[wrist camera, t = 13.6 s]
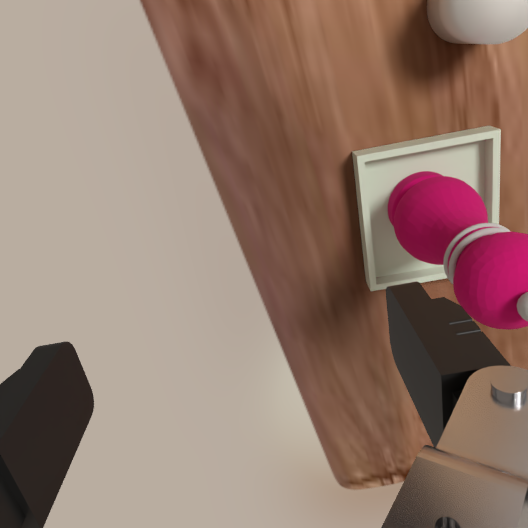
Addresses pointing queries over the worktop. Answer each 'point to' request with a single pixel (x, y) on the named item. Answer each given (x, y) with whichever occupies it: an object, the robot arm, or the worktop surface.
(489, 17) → the grey rounded block
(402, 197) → the pepper mill
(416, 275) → the tray
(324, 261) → the worktop surface
